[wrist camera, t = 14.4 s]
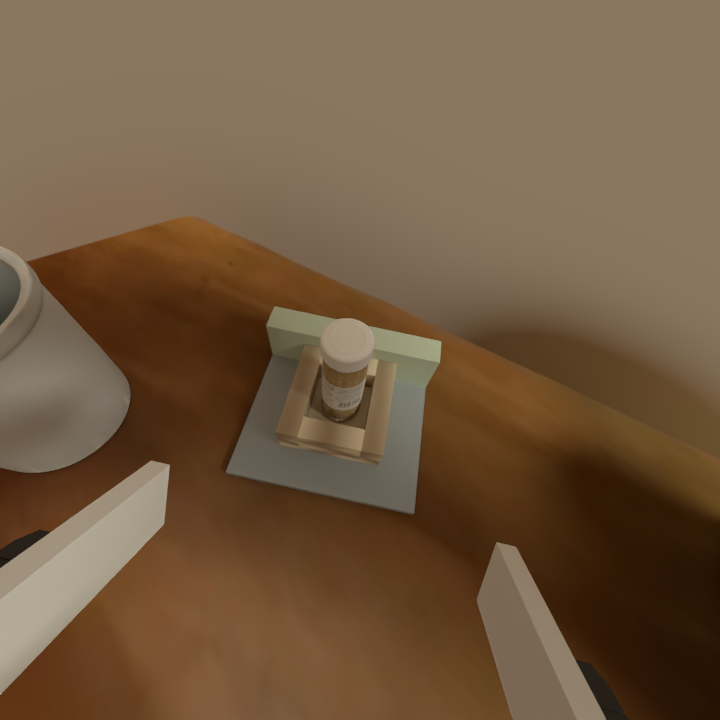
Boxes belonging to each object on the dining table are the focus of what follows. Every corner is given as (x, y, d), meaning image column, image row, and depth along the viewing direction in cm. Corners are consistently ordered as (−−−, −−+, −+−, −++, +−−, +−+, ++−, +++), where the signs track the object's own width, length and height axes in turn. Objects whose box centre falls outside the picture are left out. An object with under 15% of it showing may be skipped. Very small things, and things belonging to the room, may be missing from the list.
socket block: (391, 379, 42) (397, 363, 39) (377, 466, 36) (383, 455, 33) (306, 361, 42) (305, 344, 39) (279, 444, 36) (275, 432, 33)
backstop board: (425, 371, 45) (441, 341, 39) (411, 514, 35) (430, 504, 29) (280, 340, 45) (274, 306, 39) (227, 474, 35) (209, 455, 29)
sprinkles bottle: (358, 387, 40) (373, 316, 29) (361, 423, 38) (378, 361, 26) (320, 387, 39) (319, 315, 28) (320, 424, 37) (320, 361, 26)
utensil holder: (60, 339, 42) (-83, 214, 27) (165, 377, 40) (76, 268, 26) (-54, 447, 34) (-343, 356, 19) (72, 499, 33) (-134, 443, 18)
